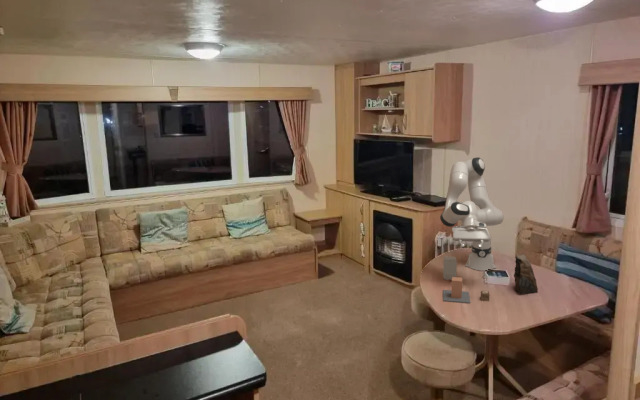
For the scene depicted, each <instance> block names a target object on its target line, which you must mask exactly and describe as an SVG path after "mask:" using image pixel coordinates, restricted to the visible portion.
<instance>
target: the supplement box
mask: <svg viewBox="0 0 640 400" xmlns="http://www.w3.org/2000/svg"><path fill="white" fill-rule="evenodd" d="M442 262H443V263H442V264H443V265H442V266H443V267H442V276H443V279H444V280H449V281H452V277H457V267H458V266H457V263H458V260H457V258H456V256H445V255H444V256H443V261H442Z"/></svg>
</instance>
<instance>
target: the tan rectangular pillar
mask: <svg viewBox="0 0 640 400" xmlns="http://www.w3.org/2000/svg"><path fill="white" fill-rule="evenodd" d="M451 290H452V292H451V297H452V298H462V291H463V277H459V276H456V277H452V280H451Z"/></svg>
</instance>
